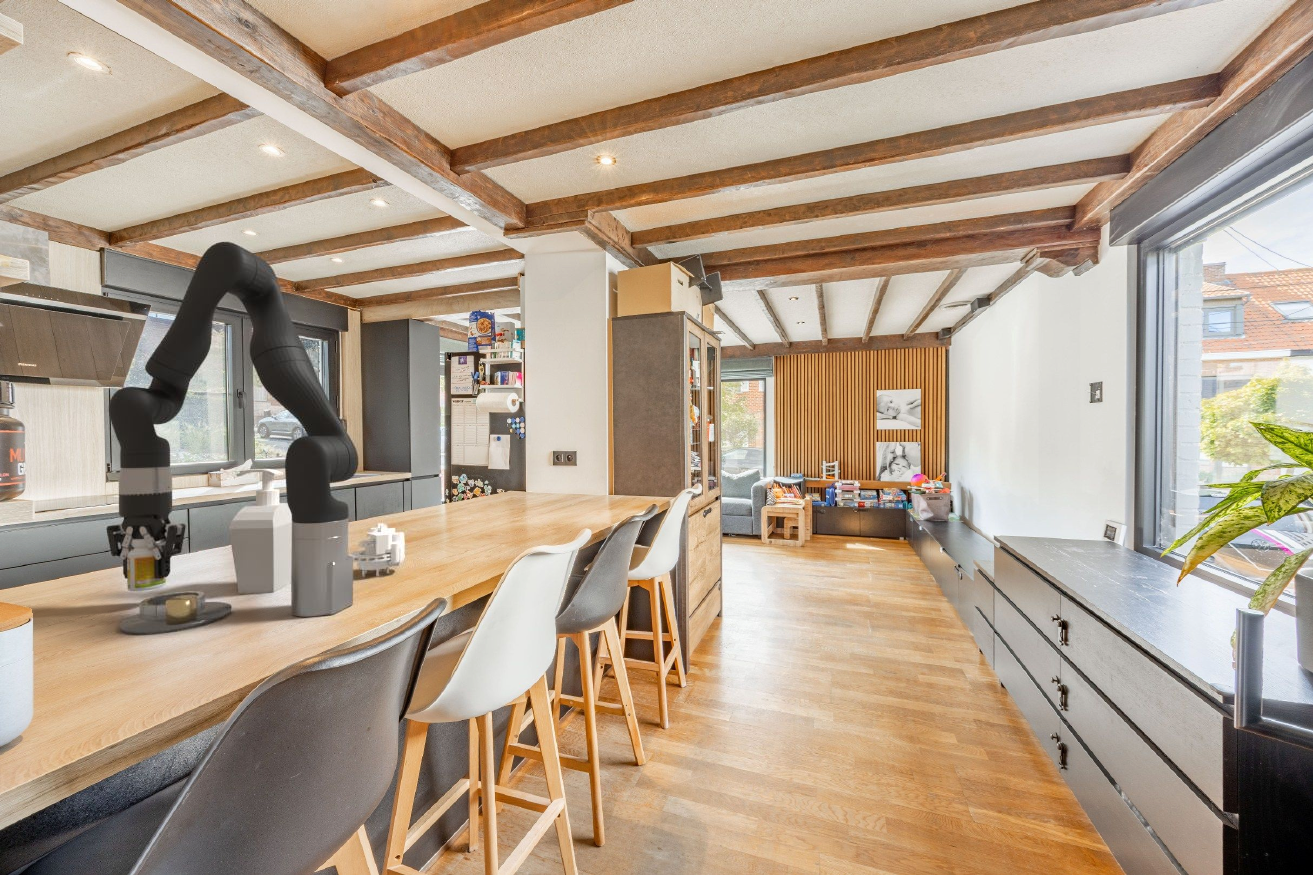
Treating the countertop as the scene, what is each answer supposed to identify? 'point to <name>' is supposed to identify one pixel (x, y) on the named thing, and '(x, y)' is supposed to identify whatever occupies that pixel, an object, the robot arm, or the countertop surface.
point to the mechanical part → (380, 550)
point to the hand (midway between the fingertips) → (146, 577)
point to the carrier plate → (162, 628)
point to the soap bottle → (262, 540)
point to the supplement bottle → (142, 568)
